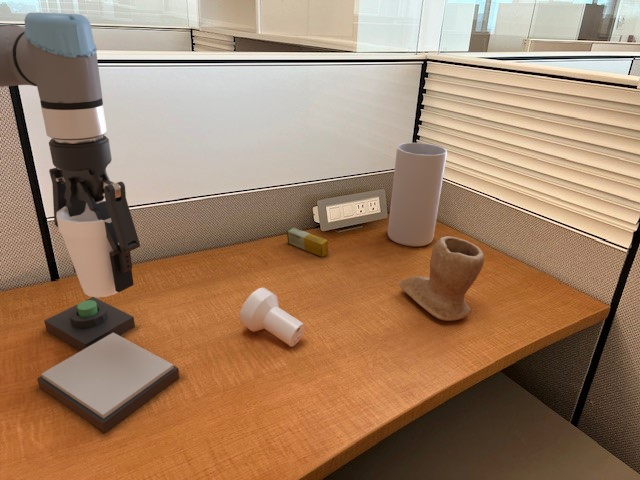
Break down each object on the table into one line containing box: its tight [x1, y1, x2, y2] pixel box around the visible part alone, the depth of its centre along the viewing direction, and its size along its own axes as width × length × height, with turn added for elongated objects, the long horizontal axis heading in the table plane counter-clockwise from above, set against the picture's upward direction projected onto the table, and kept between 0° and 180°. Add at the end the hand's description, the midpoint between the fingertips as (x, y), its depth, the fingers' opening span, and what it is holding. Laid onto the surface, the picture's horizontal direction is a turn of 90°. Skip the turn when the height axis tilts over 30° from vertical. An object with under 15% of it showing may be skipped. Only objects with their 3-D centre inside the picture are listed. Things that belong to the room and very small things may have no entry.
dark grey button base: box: [44, 297, 136, 352], centre depth 88 cm, size 12×10×4 cm
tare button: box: [76, 299, 98, 317], centre depth 87 cm, size 3×3×2 cm
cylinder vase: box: [387, 142, 448, 248], centre depth 127 cm, size 12×12×25 cm
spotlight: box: [238, 287, 306, 348], centre depth 89 cm, size 8×11×8 cm
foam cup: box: [56, 199, 119, 298], centre depth 73 cm, size 10×9×13 cm
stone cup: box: [398, 235, 485, 322], centre depth 99 cm, size 15×12×15 cm
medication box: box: [286, 226, 329, 258], centre depth 122 cm, size 12×3×4 cm, turn 50°
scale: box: [36, 333, 180, 434], centre depth 76 cm, size 16×14×3 cm
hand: (103, 278), depth 75 cm, fingers closed on foam cup, 9 cm apart
